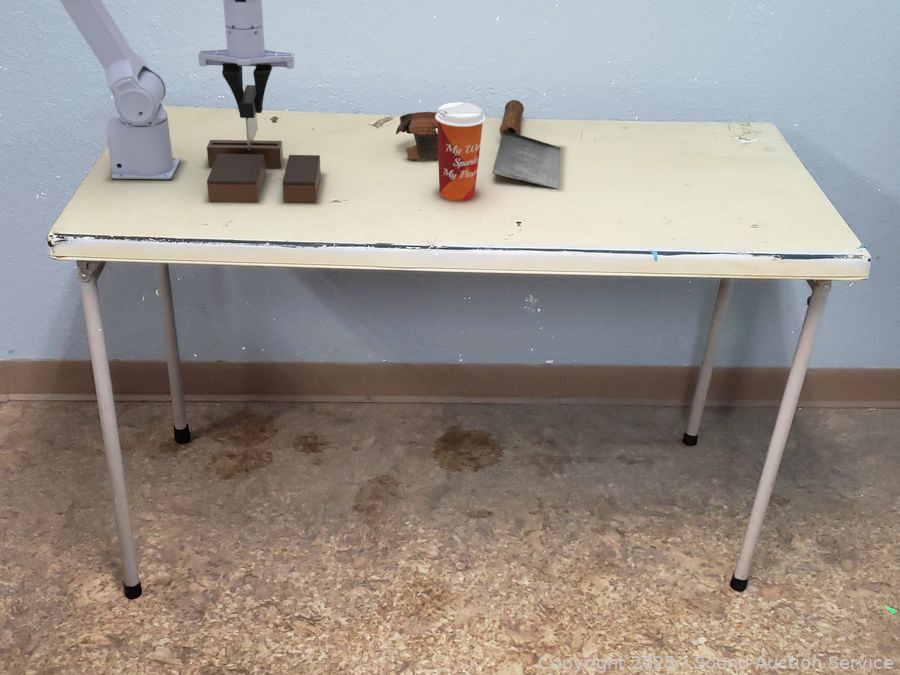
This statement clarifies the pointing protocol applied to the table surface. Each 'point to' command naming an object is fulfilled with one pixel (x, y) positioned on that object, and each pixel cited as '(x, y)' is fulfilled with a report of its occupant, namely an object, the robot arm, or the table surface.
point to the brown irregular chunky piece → (421, 134)
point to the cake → (236, 178)
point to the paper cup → (458, 149)
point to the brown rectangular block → (302, 179)
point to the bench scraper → (249, 112)
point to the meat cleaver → (525, 152)
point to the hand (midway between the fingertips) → (250, 110)
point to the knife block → (267, 148)
